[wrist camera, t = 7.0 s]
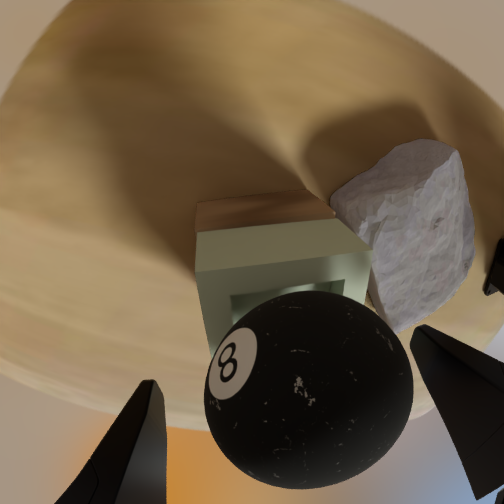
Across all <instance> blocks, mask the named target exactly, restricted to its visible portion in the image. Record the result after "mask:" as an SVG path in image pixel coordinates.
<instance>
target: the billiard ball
mask: <svg viewBox="0 0 504 504" xmlns="http://www.w3.org/2000/svg"><path fill="white" fill-rule="evenodd" d="M413 392H414V391H413V375H412V370H411V366H410V362H409V359H408V357H407V354H406V352H405V350H404V348H403V346H402V344H401V342H400V340H399V339H398V337H397V336H396V334H395V333H394V332H393V331H392V329H391V328H390V327H389V326H388V325H387V323H386V322H385V321H384V320H382V319H381V318H380V317H379V316H378V315H377V314H376V313H375V312H373V311H372V310H370V309H369V308H368V307H366V306H365V305H363V304H361V303H359V302H357V301H355V300H353V299H351V298H348V297H346V296H343V295H340V294H336V293H331V292H326V291H314V290H307V291H297V292H292V293H287V294H283V295H280V296H278V297H275V298H272V299H270V300H268V301H265V302H264V303H262V304H260V305H258V306H257V307H255V308H253V309H252V310H250V311H249V312H248V313H247V314H245V315H244V316H243V317H241V318H240V319H239V320H238V321H237V322H236V323H235V324H234V325H233V326H232V328H231V329H230V330H229V331H228V332H227V334H226V335H225V336H224V338H223V339H222V341H221V342H220V344H219V346H218V348H217V350H216V351H215V353H214V356H213V358H212V360H211V363H210V366H209V369H208V373H207V377H206V381H205V389H204V406H205V414H206V419H207V422H208V425H209V428H210V431H211V433H212V436H213V438H214V440H215V441H216V443H217V445H218V446H219V448H220V449H221V451H222V452H223V453H224V455H225V456H226V457H227V458H228V459H229V460H230V461H231V462H232V463H233V464H234V465H235V466H236V467H237V468H238V469H240V470H241V471H242V472H244V473H245V474H247V475H249V476H250V477H252V478H254V479H256V480H258V481H260V482H263V483H266V484H269V485H272V486H276V487H282V488H287V489H313V488H321V487H325V486H329V485H333V484H337V483H339V482H342V481H345V480H347V479H349V478H352V477H354V476H356V475H358V474H360V473H361V472H363V471H365V470H366V469H368V468H369V467H371V466H372V465H373V464H374V463H376V462H377V461H378V460H379V459H380V458H382V457H383V456H384V455H385V454H386V453H387V452H388V450H389V449H390V448H391V447H392V446H393V445H394V443H395V442H396V440H397V439H398V438H399V436H400V435H401V433H402V431H403V429H404V427H405V425H406V423H407V421H408V418H409V415H410V412H411V408H412V403H413Z"/></svg>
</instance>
